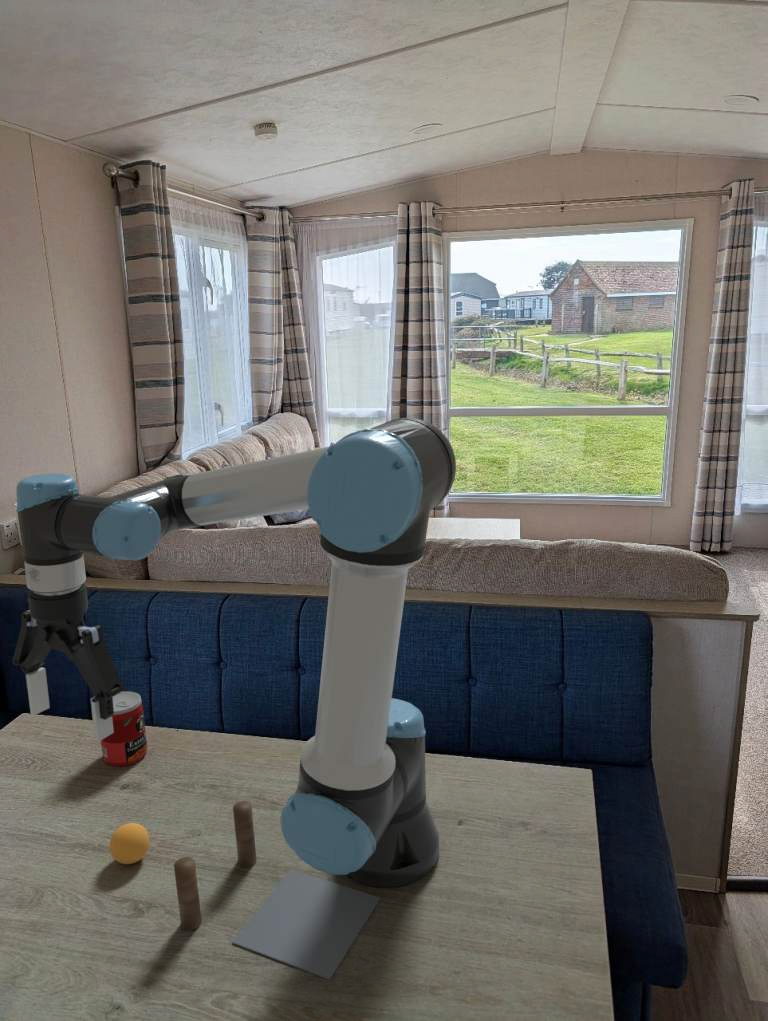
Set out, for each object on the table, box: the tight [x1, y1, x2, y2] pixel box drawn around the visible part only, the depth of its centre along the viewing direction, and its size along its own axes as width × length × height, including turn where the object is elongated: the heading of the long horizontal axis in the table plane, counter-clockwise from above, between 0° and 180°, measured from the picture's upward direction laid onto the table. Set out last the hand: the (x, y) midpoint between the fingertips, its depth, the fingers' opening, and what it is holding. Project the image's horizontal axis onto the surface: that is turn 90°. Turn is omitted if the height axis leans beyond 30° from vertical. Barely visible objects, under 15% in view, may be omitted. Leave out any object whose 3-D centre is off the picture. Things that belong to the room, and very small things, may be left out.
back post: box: [232, 800, 257, 868], centre depth 108 cm, size 3×3×9 cm
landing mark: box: [231, 869, 381, 981], centre depth 98 cm, size 14×14×1 cm
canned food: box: [100, 690, 148, 767], centre depth 136 cm, size 8×8×11 cm
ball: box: [109, 822, 150, 865], centre depth 110 cm, size 6×6×6 cm
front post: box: [173, 856, 203, 932], centre depth 97 cm, size 3×3×9 cm
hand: (71, 723), depth 110 cm, fingers open, 13 cm apart
